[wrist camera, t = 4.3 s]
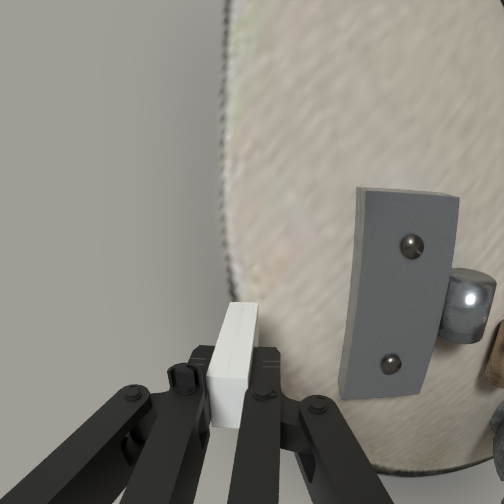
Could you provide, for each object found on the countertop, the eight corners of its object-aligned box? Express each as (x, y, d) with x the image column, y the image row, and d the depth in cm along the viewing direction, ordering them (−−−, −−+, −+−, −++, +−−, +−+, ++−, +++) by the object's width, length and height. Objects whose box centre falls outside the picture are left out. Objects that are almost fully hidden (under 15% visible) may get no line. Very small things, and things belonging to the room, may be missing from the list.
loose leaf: (356, 186, 19) (372, 193, 15) (487, 197, 18) (520, 206, 14) (337, 378, 22) (343, 413, 19) (451, 370, 21) (469, 399, 18)
